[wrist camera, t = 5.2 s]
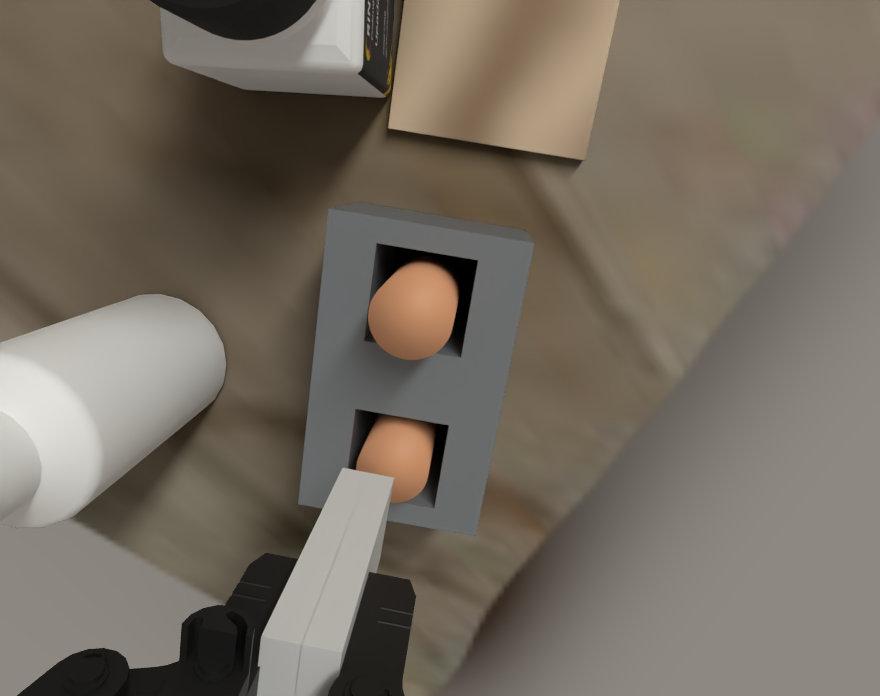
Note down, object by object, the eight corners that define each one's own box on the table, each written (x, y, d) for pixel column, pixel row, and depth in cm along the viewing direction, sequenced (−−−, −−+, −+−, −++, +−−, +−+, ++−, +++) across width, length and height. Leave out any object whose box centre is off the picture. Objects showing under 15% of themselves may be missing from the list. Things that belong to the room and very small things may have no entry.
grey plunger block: (331, 446, 33) (298, 504, 27) (360, 202, 29) (328, 208, 23) (477, 472, 32) (475, 536, 27) (524, 229, 29) (534, 243, 23)
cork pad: (390, 128, 28) (388, 128, 27) (418, -96, 25) (417, -102, 25) (582, 160, 28) (585, 160, 27) (631, -63, 25) (634, -69, 25)
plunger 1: (387, 317, 27) (363, 351, 22) (396, 250, 26) (373, 269, 21) (454, 329, 27) (445, 366, 21) (465, 262, 26) (460, 284, 21)
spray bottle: (84, 306, 31) (-405, 465, 14) (205, 279, 31) (-159, 413, 13) (130, 426, 33) (-256, 697, 16) (246, 403, 32) (-31, 664, 15)
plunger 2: (375, 441, 31) (352, 495, 25) (383, 386, 30) (360, 431, 25) (433, 451, 31) (422, 508, 25) (442, 396, 30) (433, 444, 24)
